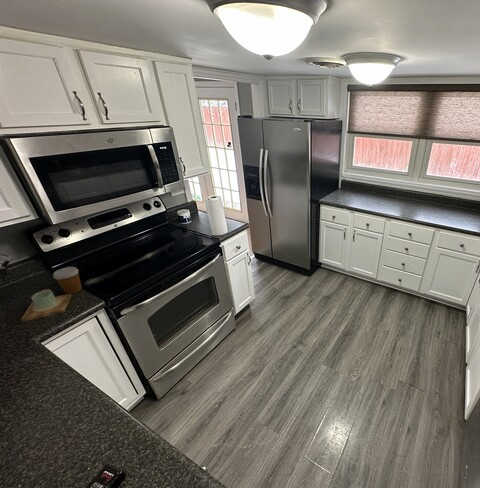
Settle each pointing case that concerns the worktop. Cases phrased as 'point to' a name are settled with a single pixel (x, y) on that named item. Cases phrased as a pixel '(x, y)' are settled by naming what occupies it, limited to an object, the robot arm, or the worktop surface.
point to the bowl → (44, 301)
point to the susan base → (58, 309)
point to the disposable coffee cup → (68, 279)
